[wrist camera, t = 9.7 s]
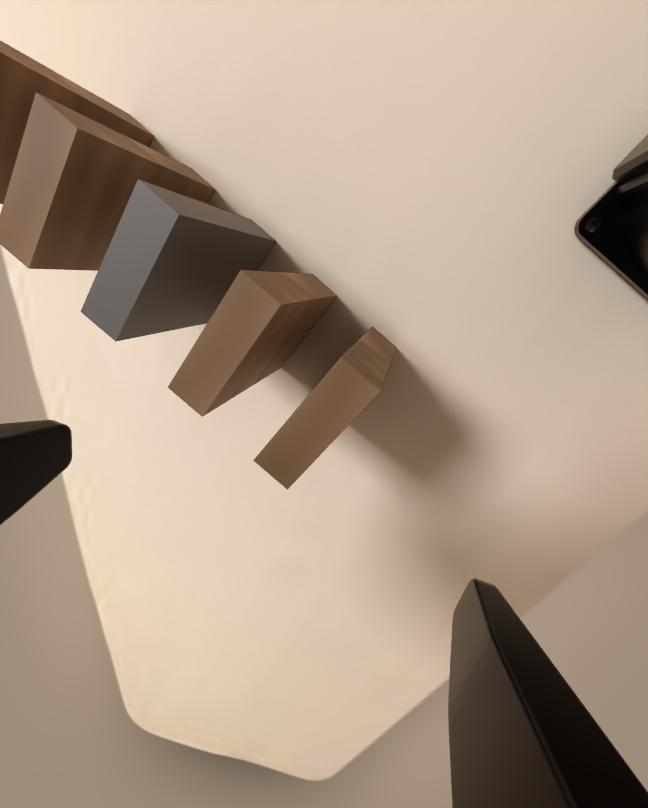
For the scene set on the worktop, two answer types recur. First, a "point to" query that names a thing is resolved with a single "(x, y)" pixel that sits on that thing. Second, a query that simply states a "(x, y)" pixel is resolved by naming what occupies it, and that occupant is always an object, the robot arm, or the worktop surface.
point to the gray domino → (170, 263)
